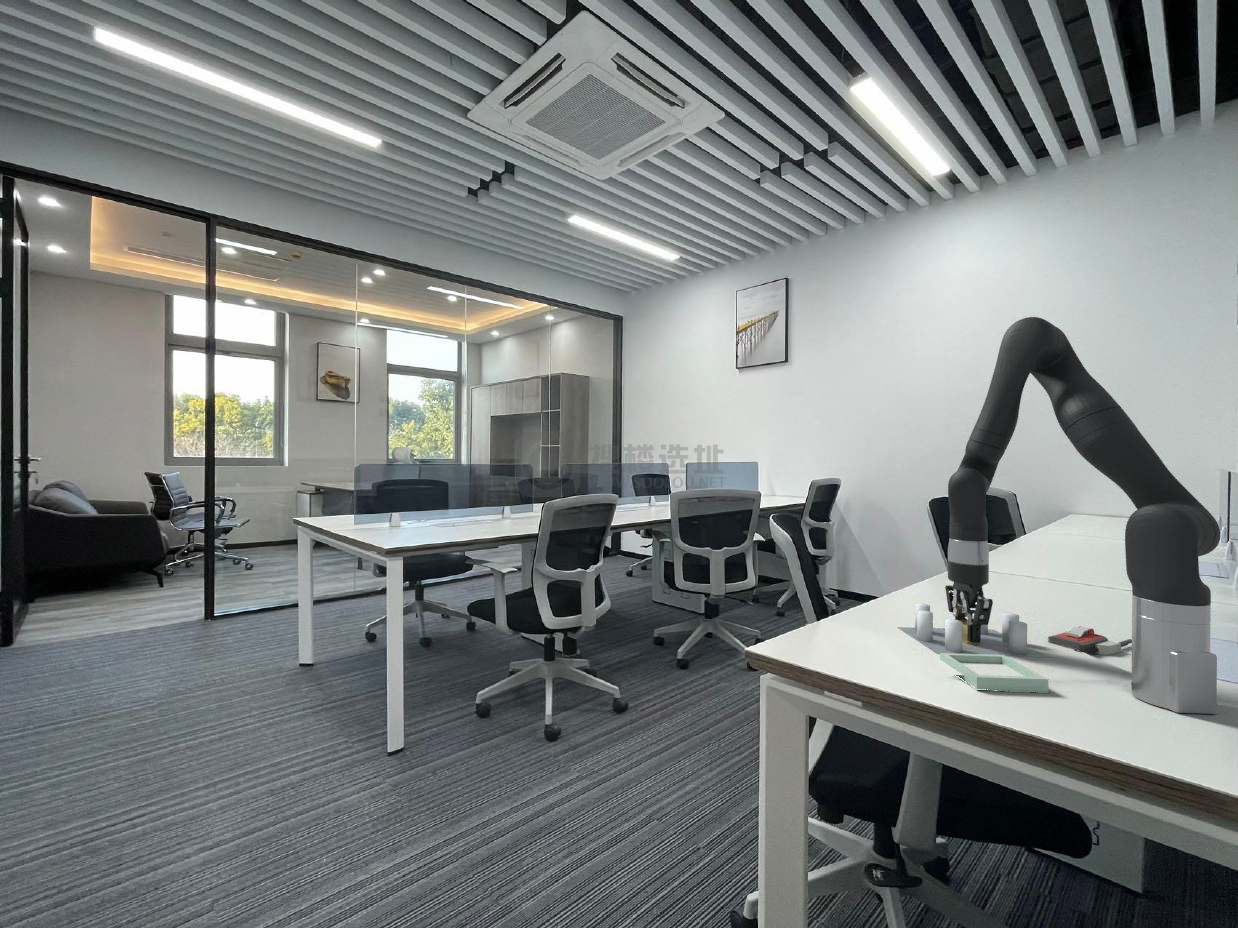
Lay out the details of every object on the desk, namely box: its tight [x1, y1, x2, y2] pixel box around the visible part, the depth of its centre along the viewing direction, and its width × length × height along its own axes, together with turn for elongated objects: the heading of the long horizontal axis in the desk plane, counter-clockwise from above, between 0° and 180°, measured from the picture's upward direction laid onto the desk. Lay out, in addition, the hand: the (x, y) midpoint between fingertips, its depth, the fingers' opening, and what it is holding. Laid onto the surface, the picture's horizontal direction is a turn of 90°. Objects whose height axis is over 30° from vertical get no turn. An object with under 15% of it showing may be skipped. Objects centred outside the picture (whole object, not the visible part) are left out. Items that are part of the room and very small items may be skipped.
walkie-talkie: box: [1047, 625, 1132, 656], centre depth 117 cm, size 9×4×20 cm
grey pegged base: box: [896, 602, 1050, 658], centre depth 117 cm, size 18×22×7 cm
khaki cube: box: [959, 619, 980, 644], centre depth 117 cm, size 4×5×4 cm
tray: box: [939, 653, 1050, 694], centre depth 100 cm, size 12×12×2 cm
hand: (967, 638), depth 117 cm, fingers closed on khaki cube, 4 cm apart
